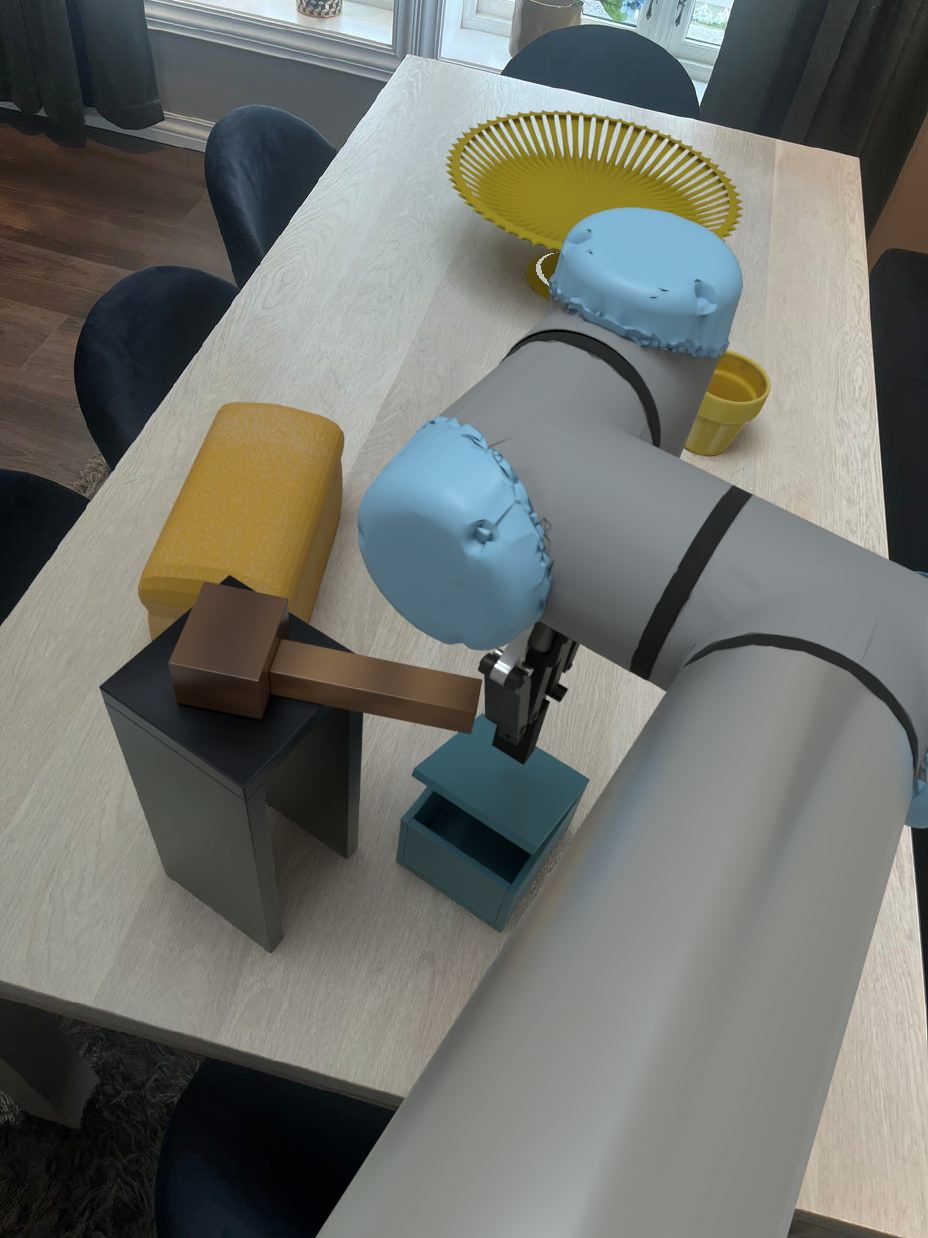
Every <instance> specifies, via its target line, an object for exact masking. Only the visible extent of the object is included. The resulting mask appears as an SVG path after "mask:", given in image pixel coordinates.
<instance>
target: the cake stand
mask: <svg viewBox="0 0 928 1238" xmlns="http://www.w3.org/2000/svg"><path fill="white" fill-rule="evenodd" d="M555 115H556V116H557V118H558V121H559V127H560V133H561V141H562V150H563V153H562V150H561V147H560V144H559V139H558V133H557V127H556V119H555V118H556V117H555ZM543 116H545V117H546V121H547V124H548V128H549V132H550V137H551V141H552V147H553V150H552V147H551V145H550V143H549V139H548V136H547V132H546V128H545V123H544V117H543ZM568 116H570V124H571V134H572V136H571V137H572V155H571V150H570V145H569V137H568V135H569V134H568V118H567V117H568ZM532 117H533V118H534V120H535V123H536V125H537V128H538V131H539V134H540V137H541V140H542V144H543V147H544V149H543V147H542V146H541V144H540V141H539V138H538V137H537V134H536V130H535V128H534V125H533V121H532ZM580 117H582V119H583V120H582V121H583V122H582V123H583V124H582V125H583V131H582V132H583V133H582V134H583V135H582V136H583V137H582V138H583V140H582V149H581V150H582V151H581V155H580V147H579V126H580ZM495 118H496V119H493V120H491V119H486V122H485V123H479V122H477V123H476V124H477V126H478V127H468V128H469V130H470V131H469V132H464V131H461V134H462V135H463V136H464V137H455V139H456V141H457V142H458V143H457V142H456V143H452V142H451V143H450V144H451V146H452V147H453V148H454V149H447V151H448V153H450V154H451V155H449V156H445V158H446V159H447V160H448V161H449V162H448V163H445V166H446V167H448V169H449V170H445V172H446V174H448V175H450V176H451V177H450V178H448V181H450V182H451V183H453V184H454V185H453V186H451V188H452V189H454V190H456V191H457V192H459V193H458V194H457V196H458V197H460V198H462V199H463V200H465V201H464V202H463V203H464V204H465V205H467V206H469V207H471V208H473V209H472V212H475V213H477V214H479V215H481V216H482V217H481V219H483V220H485V221H488V222H491V223H493V224H492V226H494V227H496V228H498V229H502V230H504V233H507V234H510V235H513V236H515V237H517V238H518V239H520V240H523V241H527V242H529V243H531V245H534V246H538V247H543V248H546V249H547V250H551V251H549V252H546V253H542V254H539V255H537V256H535V257H534V258H532V259H530V261H529V262H528V264H527V266H526V269H525V277H526V280H527V283H528V284H529V285H530V287H531V288H532V289H533V290H534V291H535V292H536V293H538V294H539V295H541V296H542V297H544V298H545V299H548V300H549V299H550V292H549V290H548V287H549V286H548V285H547V284H545V283H544V282H543V281H542V280H541V279H540V278H539V276H538V275H537V272H536V264H537V262H538V261H539V259H541V258H542V257H543V256H545V255H547V254H550V253H554V252H557V253H554V254H551V255H549V256H547V257H546V258H544V260H543V261H542V263H541V264H540V265H541V270H542V274H544V277H545V278H546V279H547V281H548V283H549V280H550V278H551V276H552V275H554V274H555V271H556V267H557V264H558V260H559V256H560V253H561V249H562V245H563V243H564V240H565V238H566V237H567V235H568V233H569V232H570V230H571V229H572V228H573V227H574V226H575V225H576V224H577V223H579V222H580V221H581V220H583V219H585V218H586V217H588V216H590V215H593V214H595V213H598V212H601V211H605V210H610V209H616V208H629V207H631V208H647V209H653V210H658V211H664V212H669V213H672V214H675V215H677V216H680V217H682V218H684V219H687V220H690V221H692V222H695V223H697V224H699V225H701V226H703V227H705V228H707V229H709V230H710V231H711V232H713V233H714V234H715V235H717V236H718V237H719V238H720V239H721V240H723V241H724V242H725V243H726V239H724V238H727V237H732V236H733V234H731V233H730V232H733V231H737V230H738V228H737V227H735V225H738V224H739V225H740V224H741V223H742V221H740V220H738V218H742V217H744V215H743V214H741V213H739V212H740V211H742V210H744V207H741V206H740V205H739V204H741V203H743V202H744V200H741V199H739V198H738V196H740V195H741V193H740V192H737V191H735V189H737V188H738V185H734V184H732V183H730V182H731V181H733V178H729V177H727V176H725V175H726V174H727V171H724V170H720V169H718V168H719V167H720V164H715V163H713V162H711V160H712V157H705V156H703V155H702V154H703V151H697V150H695V149H693V147H694V146H693V145H688V144H684V143H683V139H675V138H673V137H672V135H671V134H664V133H661V132H660V129H657V130H655V129H650V128H649V127H648V126H647V125H648V124H647V125H639V124H637V123H636V124H635V121H631V122H628V121H625V120H623V119H622V118H621V117H620V118H612V117H610V116H609V115H606V116H601V115H598V114H596V113H595V112H594V113H593V114H587V113H584V112H583V111H580V112H573V111H570V110H569V109H568V110H567V111H566V112H563V111H558V110H557V109H554V111H546V110H544V109H542V110H541V111H540V112H535V111H532V110H529V112H527V113H525V112H521V111H517V114H509V113H506V116H503V117H501V116H498V115H496V116H495ZM520 118H522V119H523V122H524V124H525V127H526V129H527V131H528V132H529V135H530V138H531V140H532V143H533V145H534V148H535V150H534V148H533V146H532V145H531V142H530V141H529V139H528V137H527V135H526V132H525V130H524V127H523V125H522V123H521V120H520ZM593 118H594V119H595V128H594V136H593V137H594V138H593V143H592V144H593V145H592V150H591V154H590V157H589V148H590V147H589V146H590V135H591V128H592V127H591V126H592V121H593V120H592V119H593ZM510 120H511V121H512V122H513V125H514V126H515V128H516V131H518V134H519V136H520V137H521V139H522V141H523V145H524V146H525V148H526V150H527V151H526V150H525V149H524V147H523V145H522V143H521V142H520V141H519V139H518V137H517V135H516V133H515V131H514V129H513V127H512V125H511V122H510ZM605 121H608V123H607V130H606V135H605V139H604V143H603V147H602V151H601V154H600V157H599V149H600V144H601V143H600V142H601V138H602V133H603V128H604V125H605ZM500 123H501V125H503V127H504V129H505V131H506V132H507V134H508V135H509V137H510V138H511V140H512V142H513V143H514V146H515V147H516V149H517V150H516V149H515V147H514V146H513V145H512V143H511V141H510V140H509V138H508V137H507V135H506V133H505V132H504V130H503V129H502V127H501V125H500ZM618 123H620V127H619V132H618V135H617V138H616V142H615V144H614V147H613V150H612V153H611V155H610V158H609V159H608V155H609V151H610V147H611V143H612V140H613V137H614V133H615V131H616V127H617V125H618ZM491 127H493V128H494V130H495V131H496V133H497V134H498V135H499V137H500V138H501V140H502V142H503V143H504V144H505V146H506V147H507V149H508V150H507V149H506V148H505V147H504V145H503V144H502V143H501V142H500V140H499V139H498V137H497V136H496V135H495V133H494V131H493V130H492V128H491ZM630 127H632V131H631V133H630V137H629V139H628V141H627V144H626V146H625V148H624V150H623V152H622V155H620V156H621V157H620V159H619V160H618V162H617V159H618V156H619V153H620V150H621V147H622V145H623V142H624V140H625V137H626V135H627V133H628V131H629V129H630ZM483 131H484V132H485V133H486V135H487V136H489V138H490V139H491V140H492V142H493V143H494V144H495V146H496V147H497V148H498V149H499V151H500V152H499V151H498V150H497V148H495V147H494V146H493V144H492V143H491V142H490V140H489V139H488V137H486V135H485V134H484V132H483ZM642 131H645V132H644V133H643V135H642V138H641V140H640V142H639V144H638V146H637V148H636V149H635V152H634V153H633V155H632V157H631V158H630V160H629V161H628V160H627V159H628V157H629V155H630V154H631V151H632V149H633V147H634V145H635V143H636V141H637V139H638V137H639V136H640V134H641V133H642ZM476 135H477V136H478V137H479V138H480V139H481V140H482V142H483V144H485V145H486V147H488V148H489V150H490V151H491V152H492V153H490V151H488V150H487V149H486V147H484V146H483V144H482V143H481V142H480V141H479V139H478V138H477V137H476ZM654 135H656V137H655V138H654V141H653V142H652V144H651V146H649V149H648V150H647V152H646V153H645V155H644V156H643V157H642V159H641V160H640V162H639V163H638V164H637V166H635V164H636V163H637V161H638V160H639V157H640V156H641V154H642V152H643V151H644V149H645V148H646V146H647V145H648V143H649V141H650V140H651V139H652V137H653V136H654ZM666 139H667V140H668V141H667V142H666V143H665V145H664V146H663V148H662V149H661V151H660V152H659V153H658V154H657V156H655V158H654V159H653V161H651V163H650V164H649V165H648V166H647V167H646V168H645V166H646V165H647V163H648V161H649V160H650V159H651V158H652V156H653V155H654V153H655V152H656V151H657V150H658V148H659V147H660V146H661V145H662V143H664V141H665V140H666ZM470 141H471V142H473V144H474V145H475V146H476V147H477V148H478V149H479V150H480V151H481V152H482V153H483V154H484V155H485V156H486V157H485V156H484V155H482V154H481V152H479V151H478V150H477V149H476V147H475V146H474V145H473V144H472V143H471V142H470ZM676 145H678V146H677V147H676V149H675V150H674V151H673V153H672V154H671V155H670V156H669V157H668V158H667V159H666V161H664V163H663V164H662V165H661V166H660V167H658V168H657V169H656V170H655V171H654V172H652V171H653V170H654V169H655V168H656V166H657V165H658V164H659V163H660V162H661V161H662V160H663V158H664V157H665V156H667V154H668V153H669V152H670V151H671V150H672V149H673V148H674V147H675V146H676ZM466 147H467V148H468V149H469V150H470V151H472V152H473V153H474V155H476V156H477V157H478V158H479V159H480V160H478V159H477V158H476V157H475V156H474V155H473V154H472V153H471V152H469V151H468V149H467V148H466ZM508 151H509V152H508ZM685 151H688V152H687V153H686V154H685V155H684V156H683V157H682V158H681V159H680V160H679V161H678V162H677V163H676V164H675V165H674V166H673V167H672V168H671V169H670V170H668V171H666V173H664V174H662V173H663V172H664V171H665V170H666V169H667V168H668V167H669V166H670V165H671V164H672V163H673V162H675V160H677V158H679V157H680V156H681V155H682V154H683V153H684V152H685ZM510 153H511V154H510ZM463 154H464V155H465V156H466V157H468V158H469V159H470V160H471V161H472V162H473V163H474V164H473V163H472V162H471V161H470V160H469V159H467V158H466V157H465V156H464V155H463ZM492 154H493V155H494V156H493V155H492ZM580 156H581V157H580ZM695 156H696V157H697V158H696V159H695V160H693V161H692V162H691V163H690V164H689V165H688V166H686V167H685V168H684V169H683V170H682V171H681V172H679V173H678V174H677V175H675V176H673V175H674V174H675V173H676V172H677V171H678V170H679V169H680V168H681V167H683V166H684V165H685V164H687V163H688V162H689V161H690V160H692V159H693V158H695ZM598 157H599V158H598ZM487 158H488V159H487ZM598 159H599V160H598ZM461 160H462V162H461ZM481 161H482V162H481ZM626 161H628V163H627V162H626ZM463 162H464V163H465V164H467V165H468V166H469V167H471V168H472V169H473V170H474V171H473V170H472V169H470V168H469V167H468V166H467V165H465V164H464V163H463ZM616 162H617V164H616ZM626 163H627V164H626ZM703 163H705V164H704V165H703V166H702V167H701V168H700V169H698V170H697V171H695V172H694V173H693V174H691V175H690V176H688V177H687V178H685V179H683V180H681V179H682V178H683V177H685V176H686V175H688V174H689V173H690V172H691V171H693V170H694V169H696V168H697V167H699V166H700V165H701V164H703ZM475 164H476V165H475ZM634 166H635V168H634ZM461 168H462V169H463V170H462V169H461ZM644 168H645V169H644ZM643 169H644V170H643ZM464 170H465V171H464ZM710 170H712V171H711V172H709V173H708V174H706V175H705V176H704V177H702V178H700V179H698V180H697V181H695V182H694V183H692V184H689V183H690V182H692V181H694V180H695V179H696V178H698V177H700V176H702V174H704V173H706V172H708V171H710ZM468 173H469V174H468ZM659 176H660V177H659ZM671 176H673V177H672V178H670V177H671ZM717 176H718V178H716V177H717ZM464 177H465V178H464ZM669 178H670V179H669ZM714 178H716V179H715V180H714V181H712V182H709V183H708V184H707V185H705V186H703V187H701V188H699V189H697V190H694V191H692V190H693V189H695V188H697V187H699V186H701V185H702V184H704V183H706V182H708V181H710V180H712V179H714ZM469 180H470V181H469ZM679 180H681V181H680V182H678V181H679ZM677 182H678V183H677ZM722 183H723V185H721V186H718V185H720V184H722ZM687 184H689V185H687ZM686 185H687V186H686ZM716 186H718V187H717V188H715V189H714V190H711V191H708V190H710V189H712V188H714V187H716ZM683 187H684V188H683ZM690 191H691V192H690ZM705 191H708V192H707V193H705V194H702V193H704V192H705ZM724 191H726V192H725V193H723V194H721V195H719V196H716V197H714V198H711V199H709V200H706V201H704V200H705V199H707V198H710V197H712V196H714V195H717V194H719V193H722V192H724ZM700 194H702V195H700ZM697 195H700V196H697ZM727 198H729V199H727ZM724 199H726V200H725V201H722V202H719V203H716V202H718V201H721V200H724ZM713 203H716V204H714V205H711V206H708V205H710V204H713ZM728 205H729V206H728ZM706 206H707V207H706ZM725 206H728V207H725ZM722 207H725V208H723V209H720V210H716V211H713V210H715V209H719V208H722ZM710 211H713V212H710ZM724 213H727V214H724ZM720 214H723V215H720ZM717 215H720V216H717ZM713 216H717V217H713ZM710 217H712V218H710ZM721 220H724V221H721ZM716 221H721V222H716ZM713 222H715V223H713ZM708 223H710V224H708ZM715 227H716V228H715ZM710 228H711V229H710Z"/></svg>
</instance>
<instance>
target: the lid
mask: <svg viewBox="0 0 928 1238" xmlns="http://www.w3.org/2000/svg"><path fill="white" fill-rule="evenodd" d="M496 726H497V725H496V724H494V723H492V722H491V721H489V720H488V719H486V718H485V712H484V713H483V712H481V714H479V715H478V716H476V717H475V721H474V725H473V729H472V733H471V734H466V733H461V732H456V734H454V735H453V736H452V737H450V738H449V739H448V740H447V741H446V742H444V743H443V744H442V745H441V746H439V747H438V748H437V749H436V750H434V751H433V753H430V755H428V756H427V757H426V758H425V759H423V760H422V761H421V762H420V763H419V764H417V765H416V766H414V768H413V771H412V773H411V776H410V777H412V778H414V779H415V780H417V781H418V782H420V783H422V784H423V785H425V786H426V787H427V786H428V787H429V788H431V789H432V790H434V791H435V792H437V793H438V794H440V795H441V796H443V797H444V798H446V799H447V800H449V801H451V802H452V803H454V804H455V805H457V806H458V807H460V808H461V809H463V810H464V811H466V812H467V813H469V814H470V815H472V816H473V817H475V818H476V819H478V820H480V821H481V822H483V823H484V824H486V825H487V826H489V827H490V828H492V829H493V830H495V831H496V832H498V833H499V834H501V835H502V836H504V837H505V838H507V839H508V840H510V841H512V842H513V843H515V844H516V845H518V846H519V847H521V848H522V849H524V850H525V851H527V852H528V853H530V854H531V855H533V854H534V853H535V852H536V851H537V849H538V848H539V847H540V845H541V844H542V843H543V842H544V840H545V839H546V838H547V836H548V835H549V834H550V833H551V831H552V830H553V829H554V827H555V826H556V825H557V824H558V822H559V821H560V820H561V818H562V817H563V816H564V815H565V813H566V812H567V811H568V809H569V808H570V807H571V806H572V804H573V803H574V802H575V800H576V799H577V798H578V797H579V795H580V794H581V793H582V791H583V790H584V789H585V788H586V789H587V787H588V784H589V782H590V781H591V780H590V778H589V777H587V776H585V775H584V774H582V773H581V772H579V771H578V770H576V769H574V768H573V767H571V766H570V765H568V764H567V763H565V762H563V761H562V760H560V759H558V758H556V756H553V755H552V754H550V753H548V752H547V751H545V750H544V749H542V748H540V747H539V746H537V745H536V746H535V749H534V752H533V753H532V754H531V756H530V757H529V758H528V760H527V761H526V763H525V764H524V765H522V764H521V763H519V762H518V761H516V760H514V759H513V758H511V757H510V756H508V755H506V754H505V753H503V752H502V751H500V750H498V749H497V748H495V747H494V746H492V742H493V738H494V734H495V730H496ZM586 786H587V787H586ZM586 789H585V790H586Z"/></svg>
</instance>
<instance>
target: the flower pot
mask: <svg viewBox="0 0 928 1238" xmlns="http://www.w3.org/2000/svg"><path fill="white" fill-rule="evenodd" d="M771 386H772V385H771V380H770V377H769V375H768V373H767V372H766V370H765V369H764V368H763V367H762V366H761V365H760V364H759V363H757V362H756V361H755V360H754V359H752V358H750V357H748V356H747V355H744V354H742V353H740V352H736V351H734V350H730V349H727V350H726V352H725V353H724V354H723V355H721V356H720V359H719V361H718V364H717V366H716V369H715V371H714V374H713V376H712V379H711V381H710V384H709V386H708V388H707V391H706V393H705V396H704V398H703V401H702V403H701V406H700V408H699V411H698V413H697V416H696V418H695V421H694V423H693V426H692V428H691V431H690V433H689V436H688V438H687V441H686V443H685V446H684V448H685V449H686V450H689V452H692V453H694V454H697V455H701V456H716V455H719V454H722V453H723V452H725V451H726V450H727V448H728V447H729V446H730V445H731V444H732V442H733V440H734V439H735V438H736V437H737V435H738V434H739V433H740V431H742V430H743V428H744V427H745V425H746V424H747V423H749V422H751V421H753V420H754V419H755V418H757V416H758V415H759V414H760V412H761V410H762V409H763V407H764V405H765V404H766V401H767V399H768V397H769V395H770V392H771Z"/></svg>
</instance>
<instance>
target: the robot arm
mask: <svg viewBox="0 0 928 1238" xmlns="http://www.w3.org/2000/svg"><path fill="white" fill-rule="evenodd" d="M701 225H702V224H701ZM701 225H699V224H697V223H695V222H692V221H690V220H687V219H684V218H682V217H680V216H677V215H675V214H672V213H669V212H664V211H658V210H653V209H647V208H631V207H629V208H616V209H610V210H605V211H601V212H598V213H595V214H593V215H590V216H588V217H586V218H585V219H583V220H581V221H580V222H579V223H577V224H576V225H575V226H574V227H573V228H572V229H571V230H570V232H569V233H568V235H567V237H566V238H565V240H564V243H563V245H562V249H561V253H560V256H559V260H558V264H557V267H556V271H555V274H554V275H552V276H551V278H550V280H549V287H548V290H549V292H550V299H548V306H547V308H546V311H545V313H544V314H543V317H541V320H540V321H539V322H538V323H537V324H536V325H534V326H533V327H532V328H531V329H530V330H529V331H528V332H527V333H525V334H524V335H523V336H522V337H521V338H520V339H519V340H517V342H516V343H514V344H513V345H512V346H511V347H510V348H509V351H508V352H507V354H505V356H504V357H503V358H502V359H501V361H500V362H499V364H498V365H497V366H495V367H494V369H492V370H491V371H490V372H489V373H487V374H486V375H485V376H483V378H481V379H480V380H479V381H478V382H477V383H475V384H474V385H473V386H472V387H470V389H469V390H467V391H466V392H465V393H463V394H462V395H461V396H460V397H459V398H458V399H456V400H455V401H454V402H453V403H452V404H451V405H449V406H448V407H447V408H445V409H444V410H443V411H442V412H441V413H440V414H439V415H437V416H435V417H433V418H432V419H430V420H426V421H425V422H424V423H423V425H421V427H420V428H418V429H416V431H415V433H414V434H413V435H412V436H411V438H409V440H408V441H407V442H406V443H405V444H404V445H403V446H402V447H401V449H400V450H399V451H398V452H396V454H395V455H394V456H393V457H391V459H390V461H388V463H386V464H385V466H384V467H383V468H382V470H381V471H380V473H379V474H378V475H377V476H376V478H375V479H374V480H373V481H372V482H371V484H370V485H369V486H368V488H367V490H366V491H365V493H364V495H363V497H362V499H361V501H360V503H359V507H358V511H357V512H358V513H357V518H356V522H357V525H356V528H357V542H358V549H359V553H360V555H361V557H362V560H363V563H364V566H365V569H366V570H367V573H368V575H369V576H370V578H371V580H372V582H373V583H374V585H375V586H376V588H377V589H378V590H379V592H380V593H381V595H382V596H383V597H384V598H385V600H386V601H387V603H388V604H389V605H390V606H391V607H392V608H393V609H394V610H395V611H396V612H397V613H398V614H399V615H400V616H401V618H403V619H404V620H405V621H406V622H408V623H409V624H411V626H413V627H414V628H416V629H417V630H419V631H420V632H422V633H423V634H425V635H427V636H429V637H430V638H432V639H435V640H436V641H438V642H441V643H443V644H445V645H448V646H449V645H450V646H451V645H452V646H453V645H457V644H463V645H464V647H466V648H468V649H470V650H472V651H482V652H485V651H491V650H494V651H493V652H487V653H486V654H485V655H484V656H483V657H482V658H481V659H480V661H479V663H478V664H479V665H478V669H477V672H479V673H480V674H482V675H483V680H484V682H483V683H484V687H483V689H484V714H485V718H486V719H488V720H489V721H491V722H492V723H494V724H496V725H497V726H496V730H495V734H494V738H493V742H492V746H494V747H495V748H497V749H498V750H500V751H502V752H503V753H505V754H506V755H508V756H510V757H511V758H513V759H514V760H516V761H518V762H519V763H521V764H522V765H524V764H525V763H526V761H527V760H528V758H529V757H530V756H531V754H532V753H533V752H534V749H535V746H537V744H538V740H539V737H540V733H541V731H542V728H543V725H544V722H545V719H546V716H547V714H548V713H547V712H548V709H549V707H550V703H551V700H549V699H547V697H549V698H551V699H553V700H554V701H555V702H558V703H559V704H560V703H561V702H562V701H563V700H564V698H565V696H566V694H567V693H568V692H569V688H568V687H566V686H564V685H563V684H561V683H560V680H561V677H562V675H563V674H566V673H567V672H568V671H570V670H571V669H572V668H573V665H574V664H573V662H574V660H575V657H576V655H577V652H578V650H579V648H580V647H581V646H583V647H585V648H586V649H588V650H590V651H591V652H593V653H595V654H597V655H599V656H600V657H603V658H604V659H606V660H608V661H609V662H611V663H613V664H615V665H616V666H619V667H620V668H622V669H624V670H626V671H627V672H629V673H632V674H633V675H635V676H637V677H639V678H640V679H642V680H644V681H647V682H649V683H651V684H653V685H654V686H656V687H657V688H659V689H661V690H662V691H664V692H665V693H664V694H663V696H662V698H661V699H660V700H659V702H658V704H657V706H656V707H655V709H654V710H653V712H652V713H651V715H650V716H649V719H647V721H646V723H645V724H644V726H643V728H642V729H641V731H640V732H639V734H638V735H637V737H636V738H635V739H634V742H633V743H632V745H631V746H630V747H629V749H628V751H627V752H626V754H625V755H624V757H623V758H622V760H621V761H620V763H619V764H618V765H617V768H616V769H615V771H614V772H613V774H612V776H611V777H610V779H609V780H608V782H607V783H606V785H605V787H604V788H603V790H602V791H601V793H600V794H599V796H598V797H597V799H596V800H595V802H594V804H593V805H592V807H591V809H590V810H589V811H588V813H587V814H586V816H585V818H584V819H583V821H582V823H581V824H580V825H579V827H578V828H577V829H576V831H575V833H574V835H573V836H572V837H571V839H570V841H569V843H568V844H567V845H566V848H565V849H564V850H563V852H562V853H561V855H560V856H559V858H558V860H557V861H556V863H555V864H554V866H553V867H552V869H551V870H550V872H549V874H547V877H545V880H544V881H543V883H542V884H541V886H540V888H539V889H538V891H537V892H536V894H535V895H534V897H533V898H532V900H531V901H530V903H529V905H528V907H527V908H526V910H525V911H524V912H523V914H522V916H521V917H520V919H519V920H518V922H517V923H516V925H515V927H514V928H513V930H512V931H511V933H510V934H509V936H508V937H507V939H506V940H505V942H504V943H503V945H502V947H501V948H500V950H499V951H498V953H497V954H496V956H495V957H494V959H493V961H492V962H491V964H490V965H489V967H488V968H487V970H486V972H485V973H484V974H483V976H482V978H481V979H480V980H479V982H478V983H477V986H476V987H475V989H474V990H473V992H472V993H471V995H470V997H469V998H468V1000H466V1003H465V1004H464V1006H463V1008H462V1009H461V1010H460V1012H459V1013H458V1015H457V1016H456V1018H455V1020H454V1022H453V1023H452V1025H451V1026H450V1028H449V1029H448V1031H447V1032H446V1034H445V1035H444V1037H443V1039H442V1040H441V1042H440V1043H439V1045H438V1046H437V1048H436V1049H435V1051H434V1053H433V1054H432V1055H431V1057H430V1059H429V1060H428V1061H427V1063H426V1064H425V1067H424V1068H423V1070H422V1071H421V1072H420V1073H419V1076H418V1078H416V1080H415V1082H414V1084H413V1085H412V1087H411V1088H410V1090H409V1091H408V1093H407V1095H406V1096H405V1097H404V1099H403V1100H402V1102H401V1104H400V1105H399V1107H398V1109H396V1112H395V1113H394V1115H393V1116H392V1118H391V1119H390V1121H389V1123H388V1124H387V1126H386V1127H385V1129H384V1130H383V1131H382V1133H381V1135H380V1137H379V1138H378V1139H377V1141H376V1143H375V1144H374V1146H373V1147H372V1149H371V1150H370V1152H369V1154H368V1155H367V1157H366V1158H365V1160H364V1162H363V1163H362V1164H361V1166H360V1168H359V1169H358V1171H357V1173H356V1174H355V1175H354V1177H353V1179H352V1180H351V1182H350V1183H349V1185H348V1186H347V1187H346V1190H345V1191H344V1192H343V1194H342V1196H341V1197H340V1198H339V1200H338V1202H337V1203H336V1205H335V1206H334V1208H333V1210H332V1211H331V1213H329V1216H328V1217H327V1218H326V1221H324V1224H323V1225H322V1227H321V1228H320V1230H319V1231H318V1233H317V1235H316V1236H315V1238H788V1236H789V1231H790V1228H791V1225H792V1221H793V1217H794V1214H795V1211H796V1207H797V1204H798V1200H799V1196H800V1192H801V1190H802V1186H803V1183H804V1179H805V1175H806V1172H807V1168H808V1165H809V1161H810V1159H811V1154H812V1150H813V1148H814V1147H813V1146H814V1144H815V1140H816V1137H817V1134H818V1129H819V1126H820V1123H821V1119H822V1115H823V1112H824V1108H825V1105H826V1101H827V1098H828V1094H829V1092H830V1091H829V1090H830V1087H831V1084H832V1080H833V1077H834V1073H835V1070H836V1067H837V1063H838V1059H839V1055H840V1052H841V1048H842V1045H843V1041H844V1038H845V1034H846V1031H847V1027H848V1024H849V1021H850V1016H851V1013H852V1009H853V1006H854V1003H855V1000H856V995H857V991H858V989H859V985H860V982H861V978H862V975H863V970H864V968H865V964H866V961H867V957H868V953H869V950H870V946H871V942H872V939H873V936H874V932H875V929H876V925H877V922H878V918H879V915H880V911H881V908H882V904H883V901H884V896H885V894H886V890H887V886H888V883H889V879H890V877H891V872H892V868H893V865H894V862H895V858H896V855H897V851H898V847H899V845H900V840H901V837H902V834H903V830H904V826H907V827H910V828H914V829H928V573H927V572H924V571H919V570H918V571H913V570H911V569H909V568H907V567H905V566H903V565H901V564H899V563H897V562H894V561H893V560H891V559H888V558H886V557H884V556H883V555H880V554H879V553H876V552H875V551H872V550H870V549H867V548H865V547H864V546H862V545H859V544H858V543H855V542H853V541H851V540H849V539H847V538H845V537H843V536H840V535H839V534H836V533H834V532H832V531H830V530H828V529H826V528H824V527H822V526H820V525H818V524H816V523H814V522H811V521H809V520H807V519H806V518H803V517H802V516H799V515H797V514H795V513H793V512H791V511H789V510H787V509H785V508H782V507H780V506H779V505H777V504H775V503H772V502H770V501H768V500H766V499H764V498H761V497H759V496H758V495H756V494H753V493H751V492H749V491H747V490H744V489H742V488H741V487H738V486H736V485H735V484H732V483H731V482H729V481H727V480H724V479H722V478H720V477H719V476H716V475H714V474H712V473H710V472H708V471H706V470H704V469H702V468H700V467H698V466H697V465H695V464H692V463H690V462H688V461H686V460H684V459H682V458H681V455H682V454H683V451H684V448H685V447H684V446H685V443H686V441H687V438H688V436H689V433H690V431H691V428H692V426H693V423H694V421H695V418H696V416H697V413H698V411H699V408H700V406H701V403H702V401H703V398H704V396H705V393H706V391H707V388H708V386H709V384H710V381H711V379H712V376H713V374H714V371H715V369H716V366H717V364H718V361H719V359H720V356H721V355H723V354H724V353H725V352H726V350H728V348H729V346H730V341H729V338H730V334H731V329H732V327H733V322H734V319H735V315H736V311H737V308H738V305H739V302H740V299H741V295H742V292H743V288H744V287H743V286H744V280H743V271H742V267H741V265H740V262H739V260H738V258H737V256H736V254H735V253H734V252H733V250H732V249H731V248H730V247H729V246H728V244H727V243H726V241H725V242H724V241H723V240H721V239H720V238H719V237H718V236H717V235H715V234H714V232H711V231H710V229H709V228H705V227H703V226H701ZM504 646H505V648H504V650H503V649H501V648H503V647H504Z"/></svg>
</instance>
